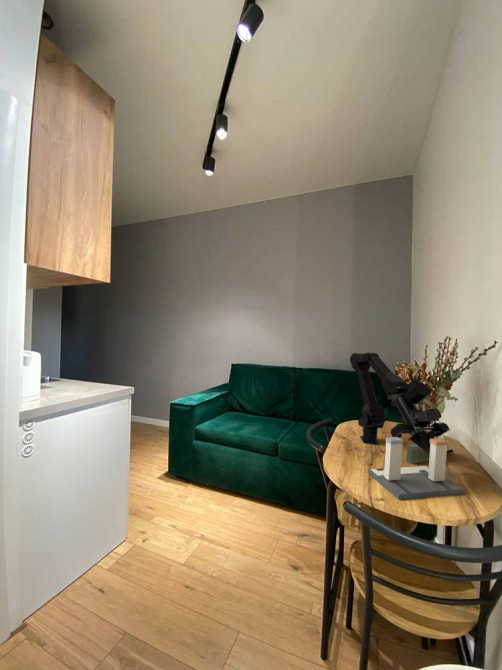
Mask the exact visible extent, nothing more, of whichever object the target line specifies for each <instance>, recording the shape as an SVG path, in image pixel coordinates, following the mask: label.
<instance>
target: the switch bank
mask: <svg viewBox="0 0 502 670" xmlns="http://www.w3.org/2000/svg"><path fill="white" fill-rule="evenodd" d="M384 471H385V467H382V468H381V467H380V468H379V467H378V468H369V469H368V470H367V472H368V475H369V476H370V477H371V478H373V479H374V480H375V481H376V482H378V484H379V485H380V486H382V487H383V488H384V489H386V490H387V491H388V492H389V493H390V494H391V495H393V497H394V498H396V499H397V500H409V499H422V498H431V497H442V496H452V495H453V496H454V495H463V494H464V491H465V490H464V488H463V487H461V486H460V485H458V484H457V483H455V482H453V481H452V480H450V479H448V478H446V477H445V481H432V480H431V479H429V478H428V474H429V466H427V465H413V466H412V465H411V466H401V474H400V480H387V479H386V478H385V477H384Z"/></svg>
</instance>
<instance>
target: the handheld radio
mask: <svg viewBox="0 0 502 670" xmlns="http://www.w3.org/2000/svg"><path fill="white" fill-rule="evenodd" d="M443 439H444V440H446V441H448V439H446V438H443ZM406 449H407V451H406V457H405V458H406V459H405V461H406V463H409V464H410V465H414V463H415V464H419V462H420V463H424V462H427V461H428V462H429V458H430V455H429V454H428V453H427V452H425V451H424V450H423V449H422V448H421V447H419V446H418V445H417V444H415V443H411V444H407V448H406ZM454 452H455V451H454V449H453V448H452V449H451V448H450V449H447V454H446V455H448V454H453V453H454ZM423 461H424V462H423Z"/></svg>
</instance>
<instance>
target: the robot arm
mask: <svg viewBox="0 0 502 670" xmlns="http://www.w3.org/2000/svg"><path fill="white" fill-rule="evenodd" d="M349 361H350V364H351V368H352V369H353V370H354V371H355V372H356V373H357V377H358V382H359V386H360V390H361V395H362V399H363V400H362V401H363V408H362V410H361V413H362V415H361V416H360V417H359V418H358V419H357V423H358V426H359V427H361V428H362V435H360V436H359V438H360V440H361V441H362V443H364V444H373V445H380V443H381V442H379V440H378V429H384V426H385V425H384V424H385V422H386V416H387V415H386V414H385V409H384V407H383V406H382V405H379V404H378V402H377V399H376V395H375V390H374V386H373V382H372V378H371V376H370V369H373V371H374V372H375V373H376V375H377V376H378V378H379V379H380V381H381V387H382V389H383V390H384V392H385V394H386V395H388V396H396V397H393V398H392V399H391V403H390V406H396V408H397V409H398V412H399V413H400V415H401V416H400V417H399V419H400V420H401V421H404V423H397V424H396V425H395V426H393V427H392V428H390V429H391V430H390V435H391V437H399V438H400V439H402V436H403V435H402V434H408V435H409V437H408V440H409V441H411V442H412V443H413V444H417V445H418V446H419V447H421V448H422V449H423V450H424V451H425V452H427V453H428V454H429V455H430V439H435V438H438V437H441V436H443V435H444V434H446V433H447V432H449V431H450V430H451V429H450V427H449V425H448V424H447V423H446V422H444V421H442V422H439V421H440V419H441V418H442V412H441V411H440V410H439V409H438V408H437V407H435V408H429V410H422V409H418V407H417V406H416V405H419V404H421V403H422V402H423V401H424V400H425V399H427V398H428V397H429V396H430V395H431V393H432V391H431V389H430V387H429V386H428V385H426V384H425V383H424V382H422V381H420V379H418V378H413V379H411V381H410V382H409V383H407V382H406V381H405V380H404V379H403V378H402V377H401V376H399V375H397V374H395V373H393V372H392V371H391V369H389V367H388V366H387V365H386V363H385V362H384V361H383V360H382V359H381V358H380V355H379V354H378V353H376V352H364V353H360V352H357V353H355V352H354V353H352V354H351V355H350V357H349ZM435 421H436V422H435ZM432 422H434V423H432Z"/></svg>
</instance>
